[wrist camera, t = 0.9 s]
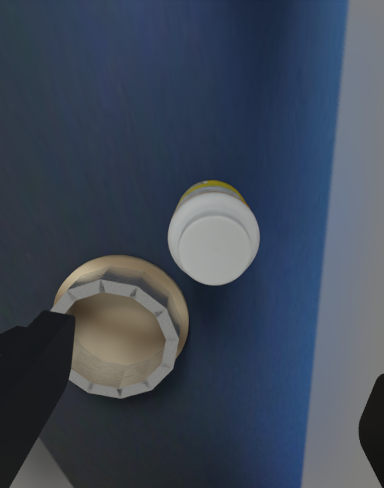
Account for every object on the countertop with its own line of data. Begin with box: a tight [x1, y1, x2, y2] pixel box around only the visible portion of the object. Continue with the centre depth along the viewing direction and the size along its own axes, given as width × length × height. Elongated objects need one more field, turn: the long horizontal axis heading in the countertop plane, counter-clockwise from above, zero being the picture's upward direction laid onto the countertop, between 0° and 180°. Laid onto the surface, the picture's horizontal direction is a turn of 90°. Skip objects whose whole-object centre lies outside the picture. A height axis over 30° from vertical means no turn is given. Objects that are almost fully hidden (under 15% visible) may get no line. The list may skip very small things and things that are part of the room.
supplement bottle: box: [168, 180, 260, 285], centre depth 23 cm, size 6×6×10 cm
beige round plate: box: [53, 255, 189, 365], centre depth 31 cm, size 12×12×1 cm
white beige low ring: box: [51, 265, 182, 398], centre depth 29 cm, size 10×10×3 cm
